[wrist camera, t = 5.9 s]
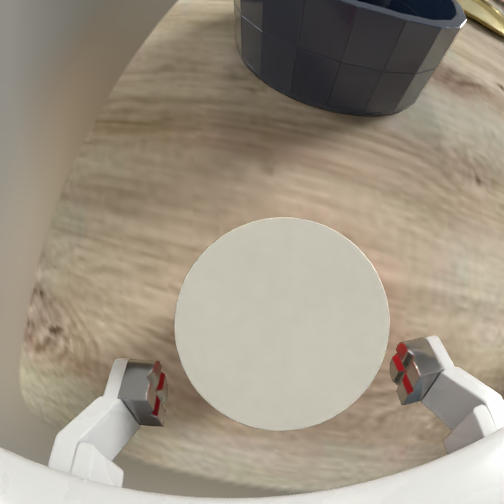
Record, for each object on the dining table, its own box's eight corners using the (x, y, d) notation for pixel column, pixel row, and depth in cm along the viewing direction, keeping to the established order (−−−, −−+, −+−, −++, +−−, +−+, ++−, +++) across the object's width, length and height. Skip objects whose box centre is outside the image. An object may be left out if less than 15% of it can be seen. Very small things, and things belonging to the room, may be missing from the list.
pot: (264, 128, 18) (272, 12, 10) (222, 9, 22) (216, -65, 13) (452, 115, 19) (505, 49, 11) (370, 7, 23) (389, -52, 14)
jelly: (226, 388, 15) (203, 448, 7) (202, 283, 16) (156, 242, 8) (332, 362, 15) (406, 392, 7) (307, 258, 16) (357, 199, 8)
